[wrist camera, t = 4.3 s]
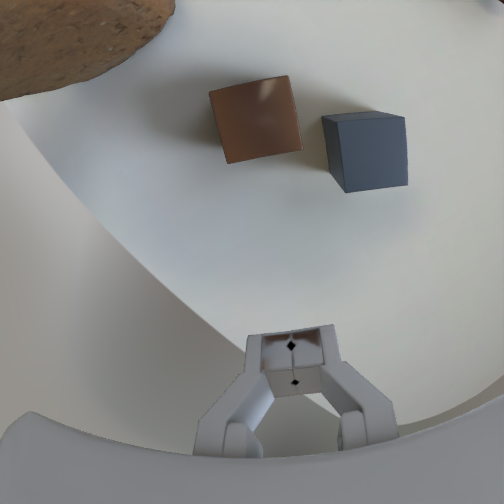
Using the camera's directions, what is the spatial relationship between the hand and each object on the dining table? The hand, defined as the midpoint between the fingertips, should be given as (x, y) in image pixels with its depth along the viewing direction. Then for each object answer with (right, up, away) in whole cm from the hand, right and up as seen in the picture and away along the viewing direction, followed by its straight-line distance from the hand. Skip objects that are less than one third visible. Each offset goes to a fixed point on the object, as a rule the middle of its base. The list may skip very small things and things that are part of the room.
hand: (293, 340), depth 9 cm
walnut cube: (-1, +13, +8) cm, 15 cm away
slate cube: (+6, +11, +9) cm, 15 cm away
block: (-12, +20, +4) cm, 24 cm away
